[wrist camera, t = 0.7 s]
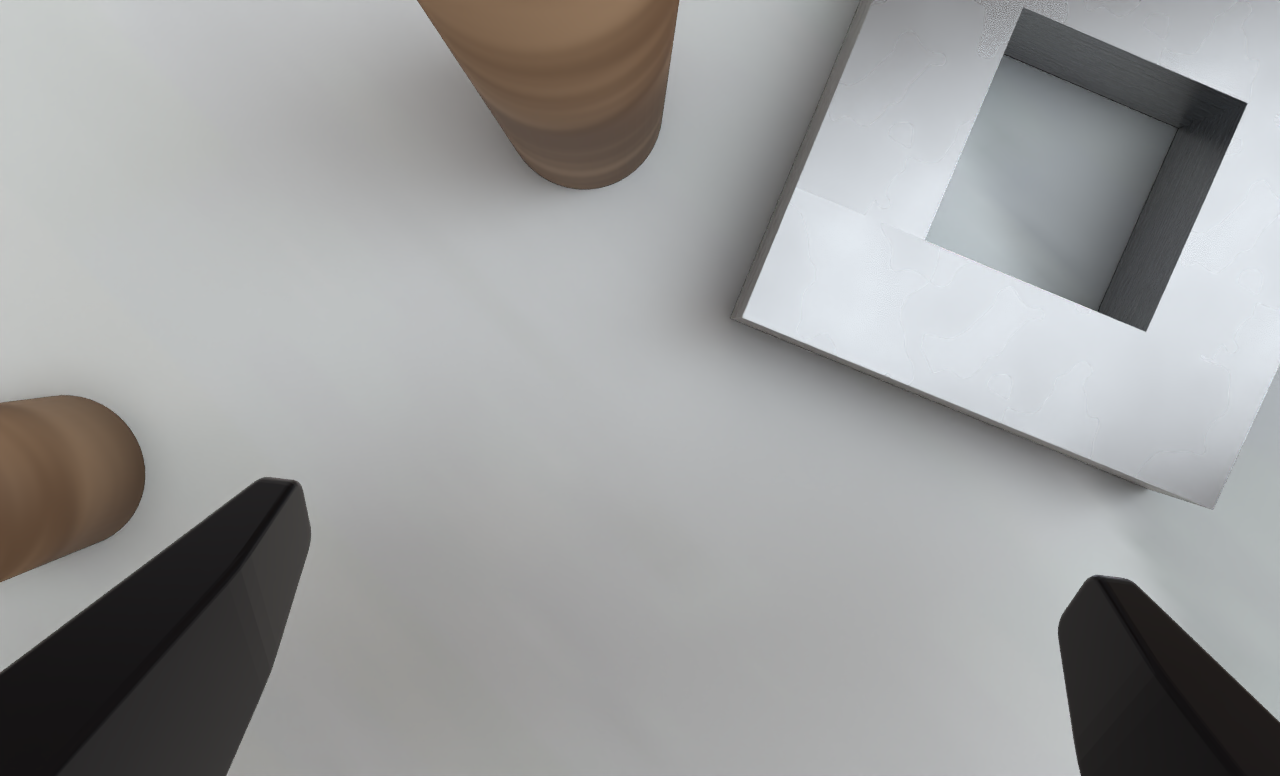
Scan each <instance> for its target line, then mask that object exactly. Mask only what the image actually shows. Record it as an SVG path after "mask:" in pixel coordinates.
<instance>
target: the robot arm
mask: <svg viewBox="0 0 1280 776" xmlns="http://www.w3.org/2000/svg"><path fill="white" fill-rule="evenodd" d="M310 541H311V527H310V522H309V517H308V512H307V507H306V502H305V498H304V493H303V489H302V486H301V485H300V483H299V482H297V481H295V480H289V479H281V478H272V477H264V478H261V479H259V480H257V481H255V482H254V483H252V484H251V485H250V486H248V487H247V488H246V489H244V490H243V491H242V492H240V493H239V494H238V495H236V496H235V497H234V498H232V499H231V500H230V501H228V502H227V503H226V504H224V505H223V506H222V507H220V508H219V509H218V510H216V511H215V512H214V513H212V514H211V515H210V516H208V517H207V518H206V519H204V520H203V521H202V522H200V523H199V524H198V525H196V526H195V527H194V528H192V529H191V530H190V531H188V532H187V533H186V534H184V535H183V536H182V537H180V538H179V539H178V540H176V541H175V542H174V543H172V544H171V545H170V546H168V547H167V548H166V549H164V550H163V551H162V552H160V553H159V554H158V555H156V556H155V557H154V558H152V559H151V560H150V561H148V562H147V563H146V564H144V565H143V566H142V567H140V568H139V569H138V570H136V571H135V572H134V573H132V574H131V575H130V576H128V577H127V578H126V579H124V580H123V581H122V582H120V583H119V584H118V585H116V586H115V587H114V588H112V589H111V590H110V591H108V592H107V593H106V594H104V595H103V596H102V597H100V598H99V599H98V600H96V601H95V602H94V603H92V604H91V605H90V606H88V607H87V608H86V609H84V610H83V611H82V612H80V613H79V614H78V615H76V616H75V617H74V618H72V619H71V620H70V621H68V622H67V623H66V624H64V625H63V626H62V627H60V628H59V629H58V630H56V631H55V632H54V633H52V634H51V635H50V636H48V637H47V638H46V639H44V640H43V641H42V642H40V643H39V644H38V645H36V646H35V647H34V648H32V649H31V650H30V651H28V652H27V653H26V654H24V655H23V656H22V657H20V658H19V659H18V660H16V661H15V662H14V663H12V664H11V665H10V666H8V667H7V668H6V669H4V670H3V671H2V672H0V776H226V775H227V773H228V770H229V768H230V766H231V763H232V761H233V759H234V757H235V754H236V752H237V750H238V747H239V745H240V743H241V741H242V738H243V736H244V734H245V731H246V729H247V727H248V724H249V722H250V720H251V718H252V715H253V713H254V711H255V708H256V706H257V704H258V702H259V699H260V697H261V695H262V692H263V690H264V687H265V685H266V683H267V680H268V678H269V675H270V673H271V670H272V667H273V664H274V661H275V658H276V655H277V652H278V649H279V645H280V642H281V639H282V635H283V632H284V629H285V626H286V622H287V619H288V616H289V613H290V609H291V606H292V603H293V599H294V596H295V593H296V590H297V586H298V583H299V580H300V576H301V573H302V570H303V567H304V563H305V560H306V557H307V554H308V550H309V546H310ZM1058 639H1059V645H1060V652H1061V659H1062V665H1063V672H1064V679H1065V685H1066V692H1067V698H1068V705H1069V712H1070V718H1071V725H1072V732H1073V738H1074V744H1075V750H1076V755H1077V761H1078V765H1079V770H1080V774H1081V776H1280V722H1279V721H1278V720H1277V719H1276V718H1275V717H1274V716H1273V715H1272V714H1271V713H1270V712H1269V711H1268V710H1266V709H1265V708H1264V707H1263V706H1262V705H1261V704H1260V703H1259V702H1258V701H1257V700H1256V699H1255V698H1254V697H1253V696H1252V695H1251V694H1250V693H1249V692H1248V691H1247V690H1246V689H1245V688H1244V687H1243V686H1241V685H1240V684H1239V683H1238V682H1237V681H1236V680H1235V679H1234V678H1233V677H1232V676H1231V675H1230V674H1229V673H1228V672H1227V671H1226V670H1225V669H1224V668H1223V667H1222V666H1221V665H1220V664H1219V663H1218V662H1216V661H1215V660H1214V659H1213V658H1212V657H1211V656H1210V655H1209V654H1208V653H1207V652H1206V651H1205V650H1204V649H1203V648H1202V647H1201V646H1200V645H1199V644H1198V643H1197V642H1196V641H1195V640H1194V639H1193V638H1191V637H1190V636H1189V635H1188V634H1187V633H1186V632H1185V631H1184V630H1183V629H1182V628H1181V627H1180V626H1179V625H1178V624H1177V623H1176V622H1175V621H1174V620H1173V619H1172V618H1171V617H1170V616H1169V615H1168V614H1166V613H1165V612H1164V611H1163V610H1162V609H1161V608H1160V607H1159V606H1158V605H1157V604H1156V603H1155V602H1154V601H1153V600H1152V599H1151V598H1150V597H1149V596H1148V595H1147V594H1146V593H1145V592H1144V591H1143V590H1141V589H1140V588H1139V587H1138V586H1137V585H1136V584H1135V583H1134V582H1132V581H1130V580H1128V579H1125V578H1119V577H1111V576H1103V575H1093V576H1091V577H1090V578H1088V579H1087V580H1086V581H1085V582H1084V584H1083V585H1082V586H1081V588H1080V589H1079V591H1078V592H1077V594H1076V595H1075V597H1074V598H1073V600H1072V601H1071V602H1070V604H1069V605H1068V607H1067V608H1066V610H1065V611H1064V613H1063V614H1062V616H1061V619H1060V622H1059V627H1058Z"/></svg>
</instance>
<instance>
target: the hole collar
mask: <svg viewBox="0 0 1280 776" xmlns="http://www.w3.org/2000/svg"><path fill="white" fill-rule="evenodd" d="M1003 54H1006V55H1008V56H1010V57H1013V58H1015V59H1017V60H1020V61H1022V62H1024V63H1027V64H1029V65H1032V66H1034V67H1036V68H1039V69H1041V70H1043V71H1046V72H1048V73H1050V74H1053V75H1055V76H1057V77H1060V78H1062V79H1064V80H1067V81H1069V82H1072V83H1074V84H1076V85H1079V86H1081V87H1083V88H1086V89H1088V90H1090V91H1093V92H1095V93H1097V94H1100V95H1102V96H1104V97H1107V98H1109V99H1111V100H1114V101H1116V102H1119V103H1121V104H1123V105H1126V106H1128V107H1130V108H1133V109H1135V110H1137V111H1140V112H1142V113H1144V114H1147V115H1149V116H1151V117H1154V118H1156V119H1159V120H1161V121H1163V122H1166V123H1168V124H1170V125H1173V126H1175V127H1177V128H1179V129H1178V131H1177V133H1176V135H1175V138H1174V140H1173V142H1172V145H1171V147H1170V149H1169V151H1168V154H1167V156H1166V158H1165V160H1164V163H1163V165H1162V167H1161V170H1160V172H1159V174H1158V176H1157V179H1156V181H1155V183H1154V185H1153V188H1152V190H1151V192H1150V195H1149V197H1148V199H1147V201H1146V204H1145V206H1144V208H1143V210H1142V213H1141V215H1140V217H1139V220H1138V222H1137V224H1136V226H1135V229H1134V231H1133V233H1132V235H1131V238H1130V240H1129V242H1128V245H1127V247H1126V249H1125V251H1124V254H1123V256H1122V258H1121V260H1120V263H1119V265H1118V267H1117V270H1116V272H1115V274H1114V276H1113V279H1112V281H1111V283H1110V285H1109V288H1108V290H1107V292H1106V295H1105V297H1104V299H1103V301H1102V304H1101V306H1100V308H1099V310H1098V312H1096V311H1094V310H1092V309H1089V308H1087V307H1084V306H1082V305H1080V304H1077V303H1075V302H1072V301H1070V300H1068V299H1065V298H1063V297H1060V296H1058V295H1055V294H1053V293H1051V292H1048V291H1046V290H1043V289H1041V288H1039V287H1036V286H1034V285H1031V284H1029V283H1027V282H1024V281H1022V280H1019V279H1017V278H1015V277H1012V276H1010V275H1007V274H1005V273H1003V272H1000V271H998V270H995V269H993V268H990V267H988V266H986V265H983V264H981V263H978V262H976V261H974V260H971V259H969V258H966V257H964V256H962V255H959V254H957V253H954V252H952V251H950V250H947V249H945V248H942V247H940V246H937V245H935V244H933V243H930V242H928V241H925V238H926V236H927V233H928V231H929V229H930V226H931V224H932V222H933V219H934V217H935V214H936V212H937V210H938V207H939V205H940V203H941V200H942V198H943V196H944V193H945V191H946V189H947V186H948V184H949V181H950V179H951V177H952V174H953V172H954V170H955V167H956V165H957V163H958V160H959V158H960V155H961V153H962V151H963V148H964V146H965V144H966V141H967V139H968V137H969V134H970V132H971V130H972V127H973V125H974V122H975V120H976V118H977V115H978V113H979V111H980V108H981V106H982V104H983V101H984V99H985V96H986V94H987V92H988V89H989V87H990V85H991V82H992V80H993V78H994V75H995V73H996V71H997V68H998V66H999V63H1000V61H1001V59H1002V56H1003ZM730 318H731V319H733V320H736V321H738V322H740V323H743V324H745V325H748V326H750V327H753V328H755V329H758V330H760V331H762V332H765V333H767V334H770V335H772V336H775V337H777V338H780V339H782V340H785V341H787V342H789V343H792V344H794V345H797V346H799V347H802V348H804V349H807V350H809V351H811V352H814V353H816V354H819V355H821V356H824V357H826V358H829V359H831V360H834V361H836V362H838V363H841V364H843V365H846V366H848V367H851V368H853V369H856V370H858V371H861V372H863V373H865V374H868V375H870V376H873V377H875V378H878V379H880V380H883V381H885V382H887V383H890V384H892V385H895V386H897V387H900V388H902V389H905V390H907V391H910V392H912V393H914V394H917V395H919V396H922V397H924V398H927V399H929V400H932V401H934V402H936V403H939V404H941V405H944V406H946V407H949V408H951V409H954V410H956V411H959V412H961V413H963V414H966V415H968V416H971V417H973V418H976V419H978V420H981V421H983V422H985V423H988V424H990V425H993V426H995V427H998V428H1000V429H1003V430H1005V431H1008V432H1010V433H1012V434H1015V435H1017V436H1020V437H1022V438H1025V439H1027V440H1030V441H1032V442H1034V443H1037V444H1039V445H1042V446H1044V447H1047V448H1049V449H1052V450H1054V451H1057V452H1059V453H1061V454H1064V455H1066V456H1069V457H1071V458H1074V459H1076V460H1079V461H1081V462H1083V463H1086V464H1088V465H1091V466H1093V467H1096V468H1098V469H1101V470H1103V471H1106V472H1108V473H1110V474H1113V475H1115V476H1118V477H1120V478H1123V479H1125V480H1128V481H1130V482H1132V483H1135V484H1137V485H1140V486H1142V487H1145V488H1147V489H1150V490H1153V491H1156V492H1159V493H1162V494H1165V495H1168V496H1172V497H1175V498H1178V499H1181V500H1184V501H1187V502H1190V503H1193V504H1197V505H1200V506H1203V507H1206V508H1209V509H1212V510H1213V509H1214V507H1215V505H1216V503H1217V500H1218V498H1219V496H1220V494H1221V492H1222V489H1223V487H1224V485H1225V483H1226V481H1227V479H1228V476H1229V474H1230V472H1231V470H1232V468H1233V465H1234V463H1235V461H1236V459H1237V457H1238V454H1239V452H1240V450H1241V448H1242V446H1243V443H1244V441H1245V439H1246V437H1247V435H1248V432H1249V430H1250V428H1251V426H1252V424H1253V422H1254V419H1255V417H1256V415H1257V413H1258V411H1259V408H1260V406H1261V404H1262V402H1263V400H1264V397H1265V395H1266V393H1267V391H1268V389H1269V386H1270V384H1271V382H1272V380H1273V378H1274V375H1275V373H1276V371H1277V369H1278V367H1279V365H1280V0H861V1H860V3H859V5H858V8H857V10H856V13H855V15H854V18H853V20H852V23H851V25H850V27H849V30H848V32H847V35H846V37H845V40H844V42H843V44H842V47H841V49H840V52H839V54H838V57H837V59H836V61H835V64H834V66H833V69H832V71H831V74H830V76H829V78H828V81H827V83H826V86H825V88H824V91H823V93H822V96H821V98H820V100H819V103H818V105H817V108H816V110H815V113H814V115H813V117H812V120H811V122H810V125H809V127H808V130H807V132H806V134H805V137H804V139H803V142H802V144H801V147H800V149H799V151H798V154H797V156H796V159H795V161H794V164H793V166H792V169H791V171H790V173H789V176H788V178H787V181H786V183H785V186H784V188H783V190H782V193H781V195H780V198H779V200H778V203H777V205H776V207H775V210H774V212H773V215H772V217H771V220H770V222H769V224H768V227H767V229H766V232H765V234H764V237H763V239H762V242H761V244H760V246H759V249H758V251H757V254H756V256H755V259H754V261H753V263H752V266H751V268H750V271H749V273H748V276H747V278H746V280H745V283H744V285H743V288H742V290H741V293H740V295H739V297H738V300H737V302H736V305H735V307H734V310H733V312H732V315H731V317H730Z"/></svg>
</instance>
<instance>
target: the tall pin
mask: <svg viewBox="0 0 1280 776" xmlns="http://www.w3.org/2000/svg"><path fill="white" fill-rule="evenodd" d="M417 1H418V2H419V4H420V5H421V7H422V8H423V10H424V11H425V13H426V14H427V16H428V17H429V19H430V20H431V22H432V23H433V25H434V26H435V28H436V29H437V31H438V32H439V34H440V35H441V37H442V39H443V40H444V42H445V43H446V45H447V46H448V48H449V49H450V51H451V52H452V54H453V55H454V57H455V58H456V60H457V61H458V63H459V64H460V66H461V67H462V69H463V70H464V72H465V73H466V75H467V76H468V78H469V79H470V81H471V82H472V84H473V85H474V87H475V88H476V90H477V91H478V93H479V94H480V96H481V97H482V99H483V100H484V102H485V103H486V105H487V107H488V108H489V110H490V111H491V113H492V114H493V116H494V117H495V119H496V120H497V122H498V123H499V125H500V126H501V128H502V129H503V131H504V132H505V134H506V135H507V137H508V138H509V140H510V141H511V143H512V144H513V146H514V147H515V149H516V150H517V152H518V153H519V155H520V156H521V157H522V159H523V160H524V161H525V162H526V163H527V164H528V166H529V167H530V168H531V169H533V170H534V171H535V172H536V173H538V174H539V175H540V176H542V177H543V178H545V179H547V180H548V181H551V182H553V183H555V184H557V185H561V186H564V187H568V188H574V189H595V188H601V187H605V186H609V185H611V184H614V183H616V182H618V181H620V180H622V179H624V178H625V177H627V176H628V175H630V174H631V173H632V172H634V171H635V170H636V169H637V168H638V167H639V166H640V165H641V164H642V163H643V162H644V161H645V159H646V158H647V157H648V155H649V154H650V152H651V150H652V149H653V147H654V145H655V143H656V140H657V138H658V135H659V131H660V128H661V122H662V115H663V109H664V102H665V95H666V88H667V81H668V74H669V67H670V60H671V54H672V47H673V40H674V33H675V26H676V19H677V12H678V6H679V0H417Z"/></svg>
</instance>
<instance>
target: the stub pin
mask: <svg viewBox="0 0 1280 776" xmlns="http://www.w3.org/2000/svg"><path fill="white" fill-rule="evenodd" d="M144 484H145V465H144V459H143V455H142V452H141V448H140V446H139V444H138V442H137V439H136V438H135V436H134V434H133V433H132V431H131V430H130V428H129V427H128V426H127V425H126V423H125V422H124V421H123V420H122V419H121V418H120V417H119V416H118V415H117V414H115V413H114V412H113V411H111V410H110V409H108V408H107V407H105V406H103V405H102V404H100V403H97V402H95V401H92V400H90V399H86V398H83V397H77V396H69V395H59V396H51V397H43V398H35V399H27V400H19V401H11V402H3V403H0V582H2V581H5V580H7V579H10V578H12V577H14V576H17V575H19V574H22V573H24V572H27V571H29V570H32V569H34V568H36V567H39V566H41V565H44V564H46V563H49V562H51V561H54V560H56V559H59V558H61V557H63V556H66V555H68V554H71V553H73V552H76V551H78V550H81V549H83V548H85V547H88V546H90V545H93V544H95V543H98V542H100V541H103V540H105V539H107V538H108V537H110V536H112V535H113V534H115V533H116V532H117V531H119V530H120V529H121V528H122V527H123V526H124V525H125V524H126V523H127V522H128V521H129V520H130V518H131V517H132V516H133V514H134V513H135V511H136V509H137V507H138V505H139V503H140V500H141V498H142V494H143V490H144Z"/></svg>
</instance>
